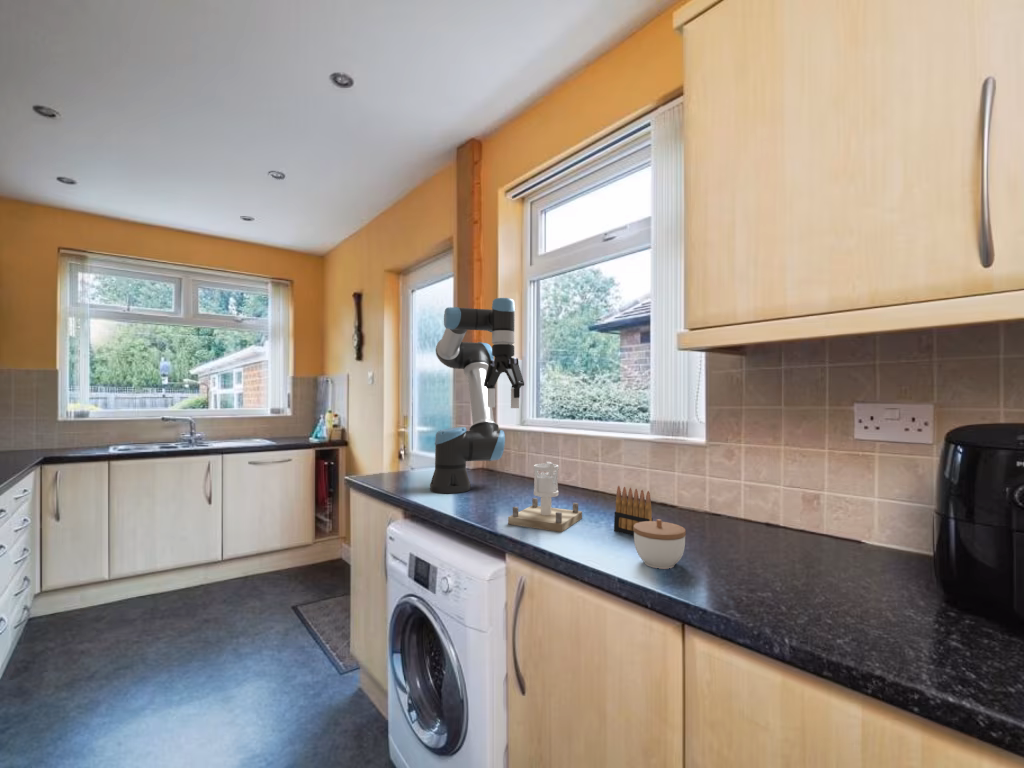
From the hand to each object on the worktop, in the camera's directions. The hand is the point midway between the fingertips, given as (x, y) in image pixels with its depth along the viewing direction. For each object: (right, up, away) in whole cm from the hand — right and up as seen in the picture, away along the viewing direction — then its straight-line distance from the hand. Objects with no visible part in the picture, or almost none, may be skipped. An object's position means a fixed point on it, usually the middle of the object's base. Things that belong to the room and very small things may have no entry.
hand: (502, 407), depth 158 cm
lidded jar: (+35, -31, -57) cm, 74 cm away
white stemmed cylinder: (+13, -29, -23) cm, 40 cm away
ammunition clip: (+35, -31, -36) cm, 59 cm away
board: (+13, -31, -23) cm, 41 cm away
